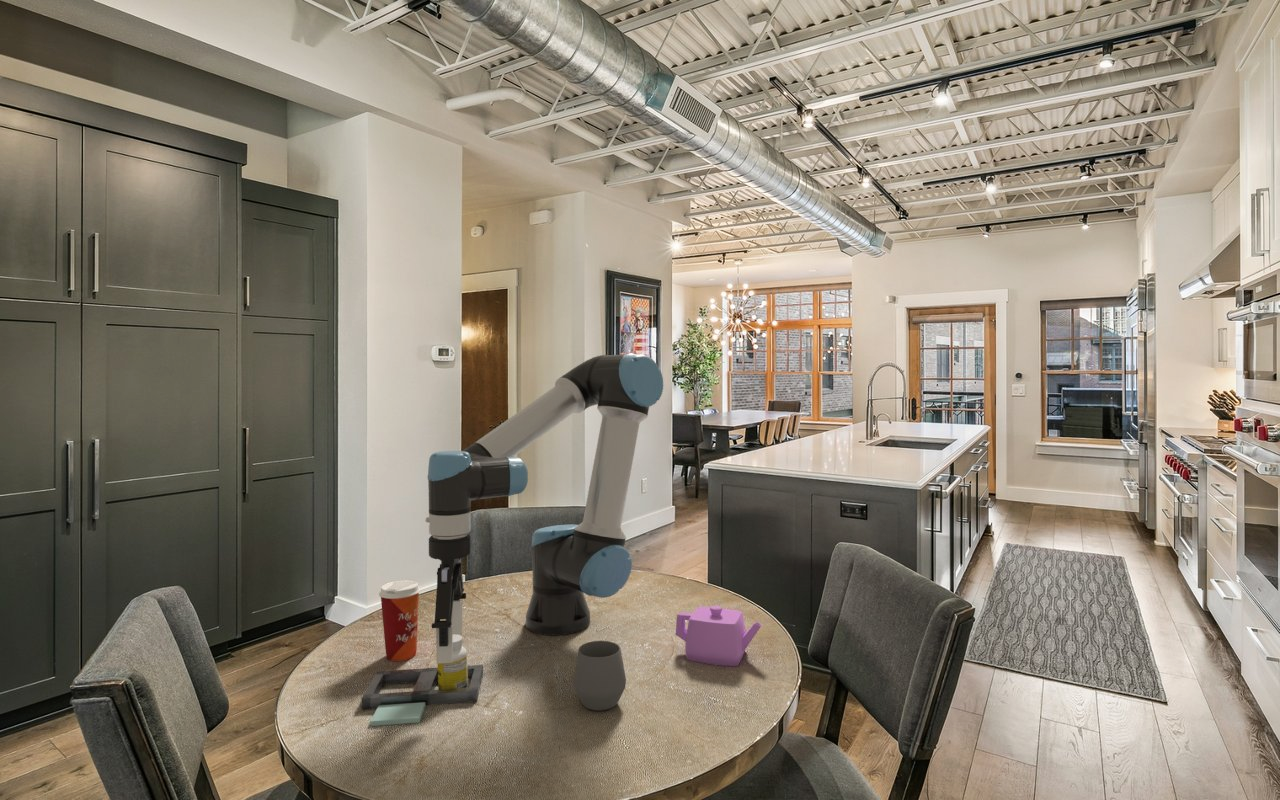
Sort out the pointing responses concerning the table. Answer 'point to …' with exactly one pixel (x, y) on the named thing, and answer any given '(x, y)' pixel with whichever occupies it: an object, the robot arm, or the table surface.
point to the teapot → (715, 635)
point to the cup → (599, 675)
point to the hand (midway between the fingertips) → (450, 647)
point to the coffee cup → (400, 618)
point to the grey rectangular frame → (420, 688)
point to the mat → (398, 714)
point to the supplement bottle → (454, 668)
